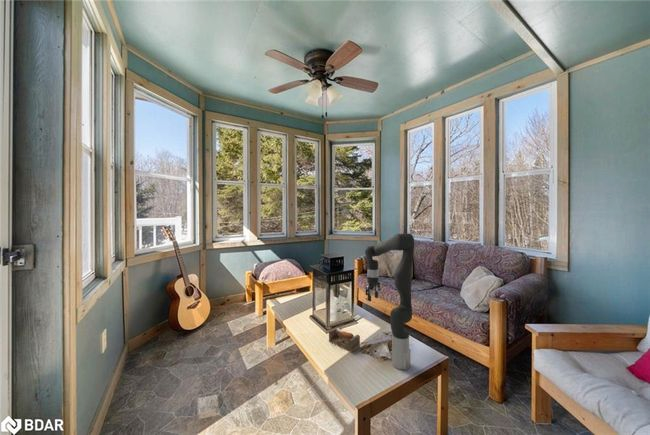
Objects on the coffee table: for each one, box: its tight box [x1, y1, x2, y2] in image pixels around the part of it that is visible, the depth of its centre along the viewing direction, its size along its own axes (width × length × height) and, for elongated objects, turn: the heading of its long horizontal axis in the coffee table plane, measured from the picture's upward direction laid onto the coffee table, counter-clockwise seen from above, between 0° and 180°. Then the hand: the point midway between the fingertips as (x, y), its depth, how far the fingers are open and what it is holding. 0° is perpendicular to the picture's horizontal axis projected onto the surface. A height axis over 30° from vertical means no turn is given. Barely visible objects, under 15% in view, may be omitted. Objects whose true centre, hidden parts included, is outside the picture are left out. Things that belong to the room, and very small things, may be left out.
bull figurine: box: [336, 328, 355, 343], centre depth 165 cm, size 4×13×8 cm, turn 56°
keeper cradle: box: [328, 326, 361, 353], centre depth 165 cm, size 19×9×7 cm, turn 46°
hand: (373, 299), depth 168 cm, fingers open, 8 cm apart
